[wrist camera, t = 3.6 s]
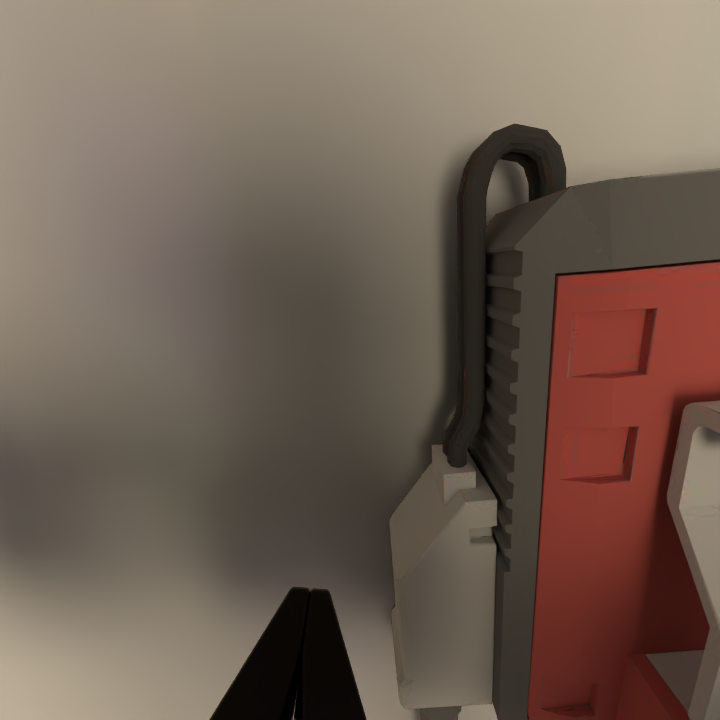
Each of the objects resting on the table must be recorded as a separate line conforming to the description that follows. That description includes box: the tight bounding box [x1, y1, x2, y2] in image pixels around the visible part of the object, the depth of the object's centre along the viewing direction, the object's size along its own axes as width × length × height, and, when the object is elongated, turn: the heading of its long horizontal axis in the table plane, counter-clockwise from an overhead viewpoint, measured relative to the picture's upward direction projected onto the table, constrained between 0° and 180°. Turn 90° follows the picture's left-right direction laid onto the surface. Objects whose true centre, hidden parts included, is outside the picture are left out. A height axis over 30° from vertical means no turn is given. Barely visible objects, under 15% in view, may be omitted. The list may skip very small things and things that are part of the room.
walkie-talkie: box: [389, 124, 720, 720], centre depth 7 cm, size 9×4×20 cm
